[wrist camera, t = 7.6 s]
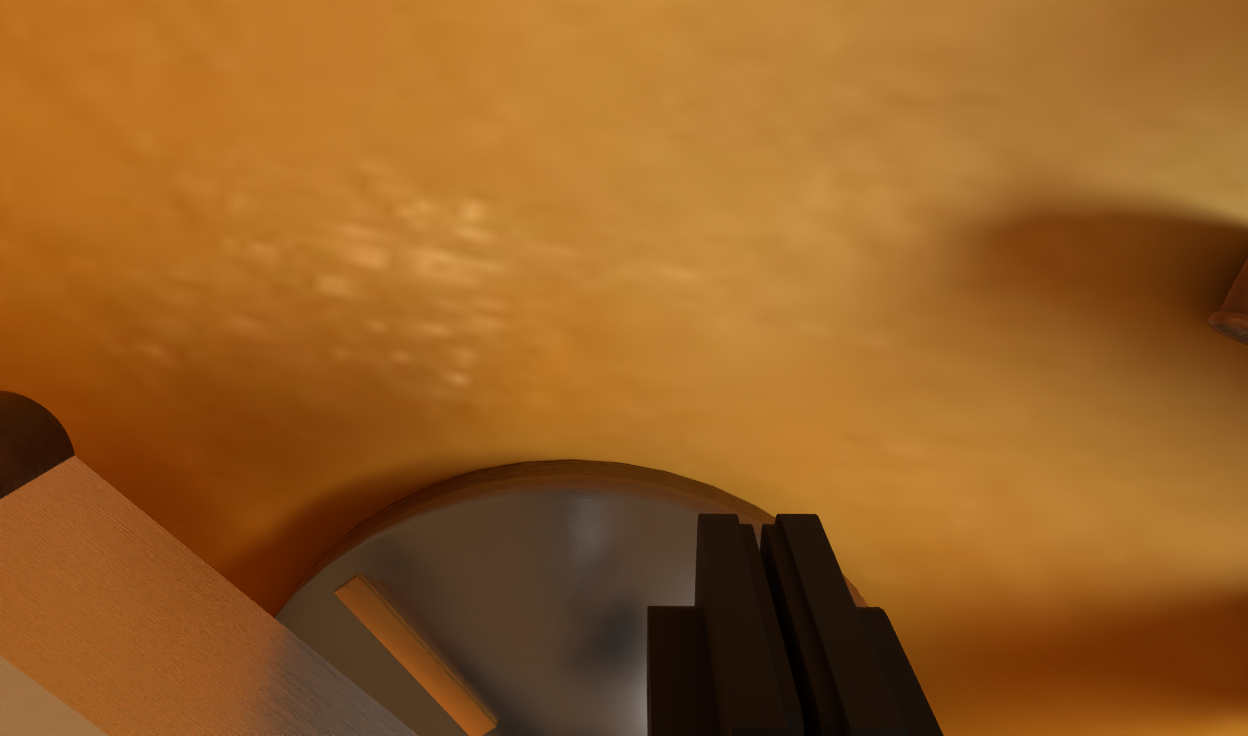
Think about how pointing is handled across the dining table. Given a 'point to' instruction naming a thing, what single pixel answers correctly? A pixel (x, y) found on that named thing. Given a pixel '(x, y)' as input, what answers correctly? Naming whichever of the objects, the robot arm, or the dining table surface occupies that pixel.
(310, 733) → the dial lever
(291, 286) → the dining table surface
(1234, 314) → the tin
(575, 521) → the dial plate
